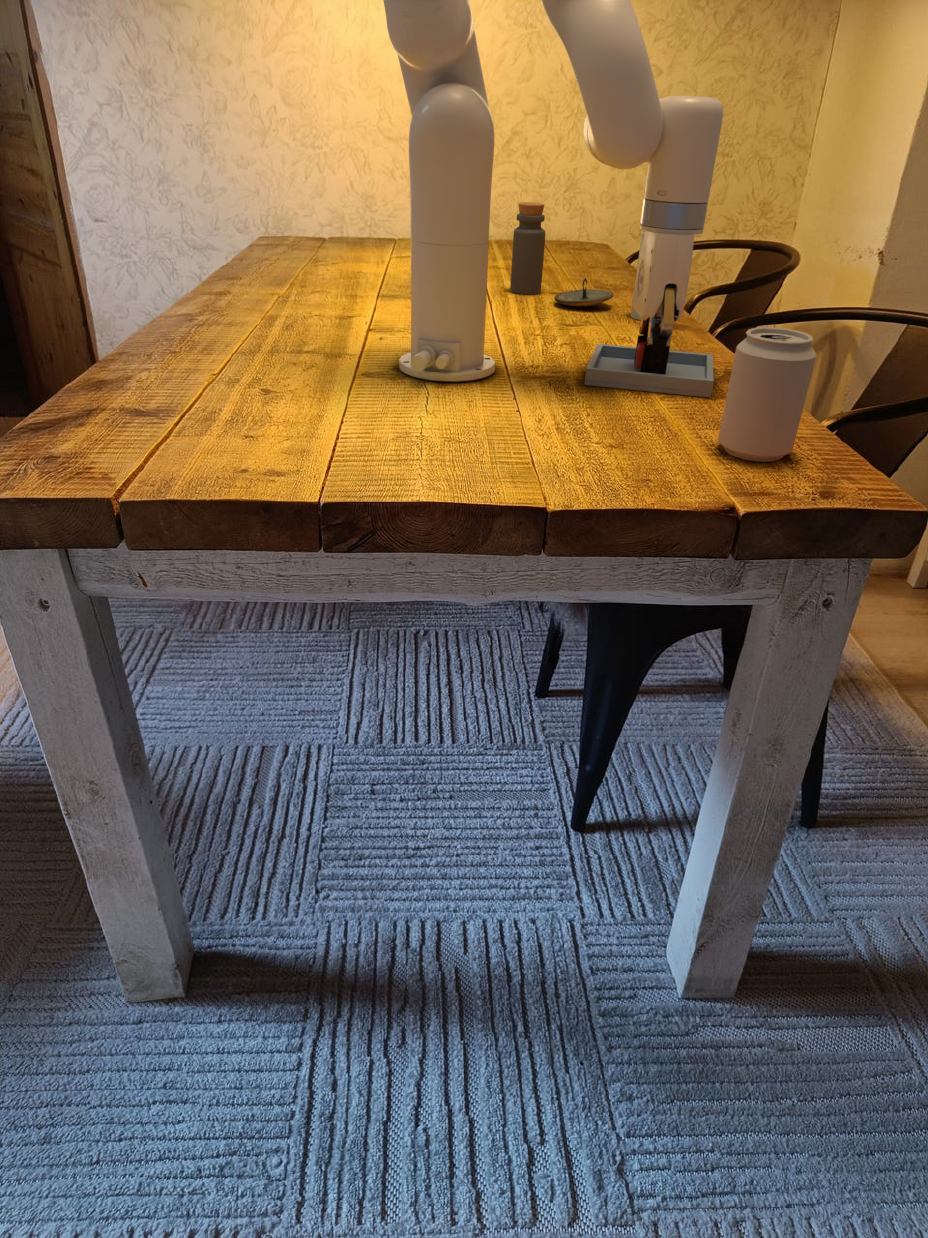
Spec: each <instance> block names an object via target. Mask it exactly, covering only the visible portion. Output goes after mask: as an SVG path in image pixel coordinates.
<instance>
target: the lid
mask: <svg viewBox="0 0 928 1238" xmlns="http://www.w3.org/2000/svg"><path fill="white" fill-rule="evenodd" d="M587 283H588V280H587V278H585V277H584V278H583V279H582V283H581V284H582V285H581V287H582V289H576V290H569V291H563V292H561V293H558V294H556V295H555V296H554V297H553V299H554V301H555V302H557V303H559V304H562V305H566V306H569V307H570V306H571V307H580V308H582V307H589V306H599V305H602V304H603V303H605V302H607V301H610V300H611V299H613V298H614V293H613V292H612V291H609V290H605V289H604V290H603V289H587V286H585V285H587Z"/></svg>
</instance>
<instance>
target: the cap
mask: <svg viewBox="0 0 928 1238" xmlns="http://www.w3.org/2000/svg"><path fill="white" fill-rule="evenodd" d="M644 344H647V342H640V343H638V347H637V346H636V347H637V353H636V360H635V367H637V368H639V369H641V362H642V355H643V349H644Z"/></svg>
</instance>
